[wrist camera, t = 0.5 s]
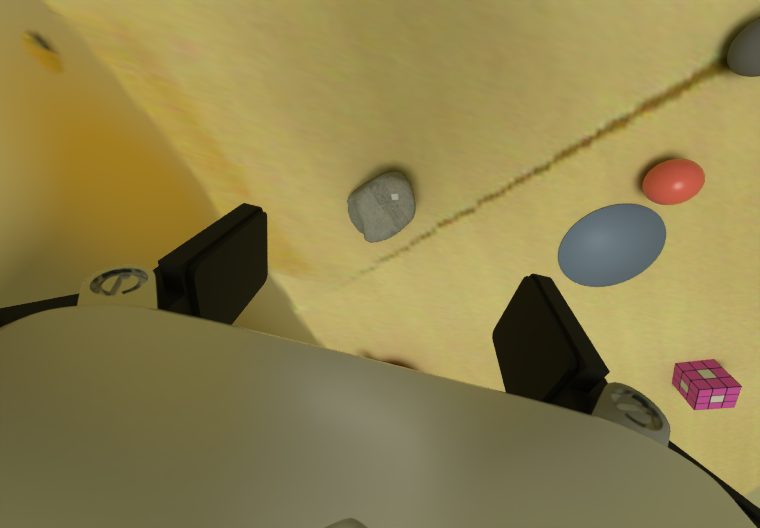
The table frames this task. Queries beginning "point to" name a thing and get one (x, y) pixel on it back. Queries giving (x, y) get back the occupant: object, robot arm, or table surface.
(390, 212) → the stone
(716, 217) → the table surface
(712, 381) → the puzzle toy
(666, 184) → the object ball
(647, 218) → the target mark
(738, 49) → the gray ball
